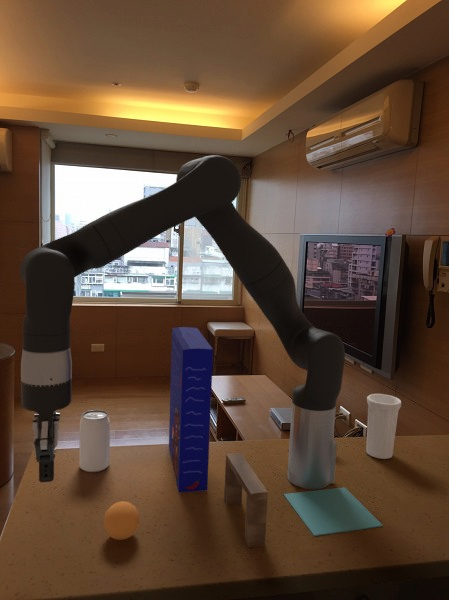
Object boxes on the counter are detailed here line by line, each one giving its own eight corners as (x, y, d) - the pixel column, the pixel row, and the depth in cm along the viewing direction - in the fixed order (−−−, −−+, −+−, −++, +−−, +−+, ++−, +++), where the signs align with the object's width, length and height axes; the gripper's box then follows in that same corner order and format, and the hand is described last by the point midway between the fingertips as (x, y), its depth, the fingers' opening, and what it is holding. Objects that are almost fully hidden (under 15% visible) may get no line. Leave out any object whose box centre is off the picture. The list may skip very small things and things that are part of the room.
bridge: (238, 498, 97) (240, 452, 96) (264, 545, 83) (267, 491, 82) (224, 500, 97) (226, 454, 95) (248, 547, 82) (251, 493, 81)
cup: (401, 462, 117) (406, 405, 115) (367, 461, 117) (372, 403, 115) (390, 448, 125) (395, 394, 123) (358, 446, 125) (363, 392, 123)
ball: (137, 524, 88) (138, 493, 87) (141, 544, 82) (141, 511, 81) (102, 528, 86) (103, 496, 85) (104, 549, 80) (104, 515, 79)
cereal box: (207, 490, 100) (213, 348, 96) (178, 492, 99) (183, 348, 95) (192, 445, 121) (197, 326, 117) (168, 446, 120) (172, 326, 116)
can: (101, 474, 105) (102, 421, 103) (73, 470, 106) (74, 418, 104) (114, 461, 111) (114, 411, 109) (88, 457, 112) (88, 407, 111)
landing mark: (344, 488, 103) (344, 487, 103) (382, 526, 90) (383, 525, 90) (283, 495, 100) (283, 494, 100) (314, 536, 86) (314, 535, 86)
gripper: (70, 388, 71) (69, 498, 74) (72, 364, 84) (71, 459, 86) (15, 390, 69) (16, 504, 72) (26, 365, 82) (26, 463, 84)
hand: (46, 479), depth 79 cm, fingers closed
